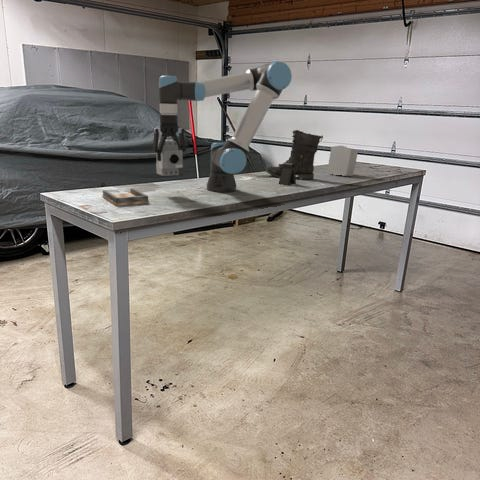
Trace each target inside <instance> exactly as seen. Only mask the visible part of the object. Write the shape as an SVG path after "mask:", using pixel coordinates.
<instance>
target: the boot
mask: <svg viewBox="0 0 480 480" xmlns="http://www.w3.org/2000/svg"><path fill="white" fill-rule="evenodd" d="M292 134H293V135H292V136H291V138H292V141H291V142H292V145H291V150H290V157H288V159H287V160H285V162H287V163H294V164H295V167H294V170H295V176H297V179H298V178H302V179H301V180H305V179H306V180H307V179H310V180H313V178H315V177H314V169H315V167H314V166H315V165H314V163H315V162H314V161H315V157H316V156H315V155H316V154H317V152H318V146H319V144H320V142H321V141H323V139H324V136H323V135H318V134H311V133H306V132H304V131H300V130H299V129H295V130H294V129H293V131H292ZM277 165H278V166H270V165H269V166H267V168H266V169H265V172H266V173H267V174H269V175H271V176H272V177H273V176H274V177H276V178H279V177H280V176H281V173H282V169H283V163H279V164H277Z"/></svg>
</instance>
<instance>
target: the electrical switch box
mask: <svg viewBox="0 0 480 480" xmlns="http://www.w3.org/2000/svg"><path fill="white" fill-rule="evenodd" d="M357 159H358V150H357V149H354V148H350V147H347V146H344V145H335V146H331V148H330V153H329V160H328V165H327V170H326V173H327V174H329V175H332V174H335V175H342V176H341V177H344V176H346V177H351V176H350V175H352V176H353V175H354V173H355V169H356V168H355V167H356V163H357Z"/></svg>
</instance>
